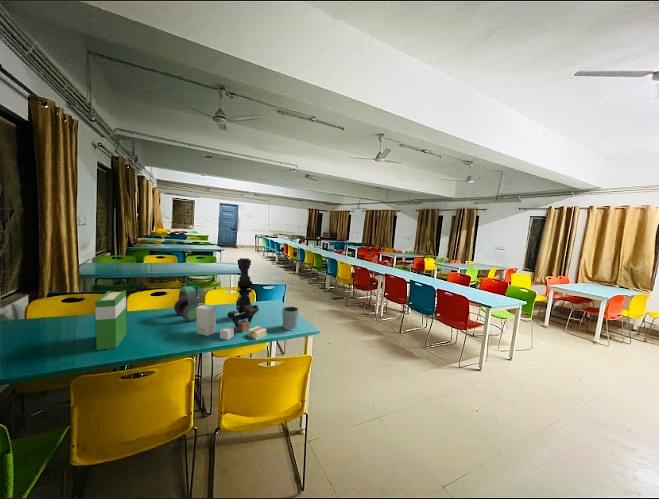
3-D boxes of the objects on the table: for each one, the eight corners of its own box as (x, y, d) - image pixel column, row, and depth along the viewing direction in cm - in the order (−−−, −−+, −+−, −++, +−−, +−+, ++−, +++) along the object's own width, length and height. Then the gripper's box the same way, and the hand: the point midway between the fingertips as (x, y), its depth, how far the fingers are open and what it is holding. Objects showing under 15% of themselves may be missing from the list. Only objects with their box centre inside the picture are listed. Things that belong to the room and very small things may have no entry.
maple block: (248, 336, 153) (248, 329, 152) (258, 332, 158) (258, 326, 158) (256, 340, 148) (256, 333, 148) (266, 336, 154) (266, 329, 154)
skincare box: (216, 332, 154) (216, 306, 152) (207, 336, 148) (208, 309, 146) (204, 329, 157) (205, 303, 155) (195, 333, 151) (196, 306, 149)
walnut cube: (236, 330, 159) (237, 322, 158) (243, 327, 163) (243, 319, 162) (242, 332, 156) (242, 324, 156) (249, 330, 160) (249, 321, 160)
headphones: (202, 319, 170) (203, 289, 168) (184, 324, 162) (184, 291, 160) (190, 311, 183) (190, 283, 181) (172, 315, 175) (172, 285, 173)
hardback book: (109, 335, 142) (108, 290, 140) (126, 333, 145) (125, 290, 143) (96, 350, 126) (95, 301, 124) (116, 348, 129) (115, 300, 127)
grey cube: (220, 338, 147) (220, 329, 147) (226, 334, 152) (226, 326, 152) (227, 340, 146) (227, 331, 145) (233, 336, 151) (233, 327, 150)
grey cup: (294, 331, 162) (295, 312, 161) (278, 329, 164) (279, 310, 163) (299, 325, 172) (300, 307, 171) (284, 323, 174) (285, 305, 173)
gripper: (240, 307, 146) (239, 334, 147) (265, 299, 161) (264, 324, 163) (227, 302, 151) (226, 329, 153) (252, 295, 167) (251, 320, 169)
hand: (243, 325), depth 159 cm, fingers open, 9 cm apart
